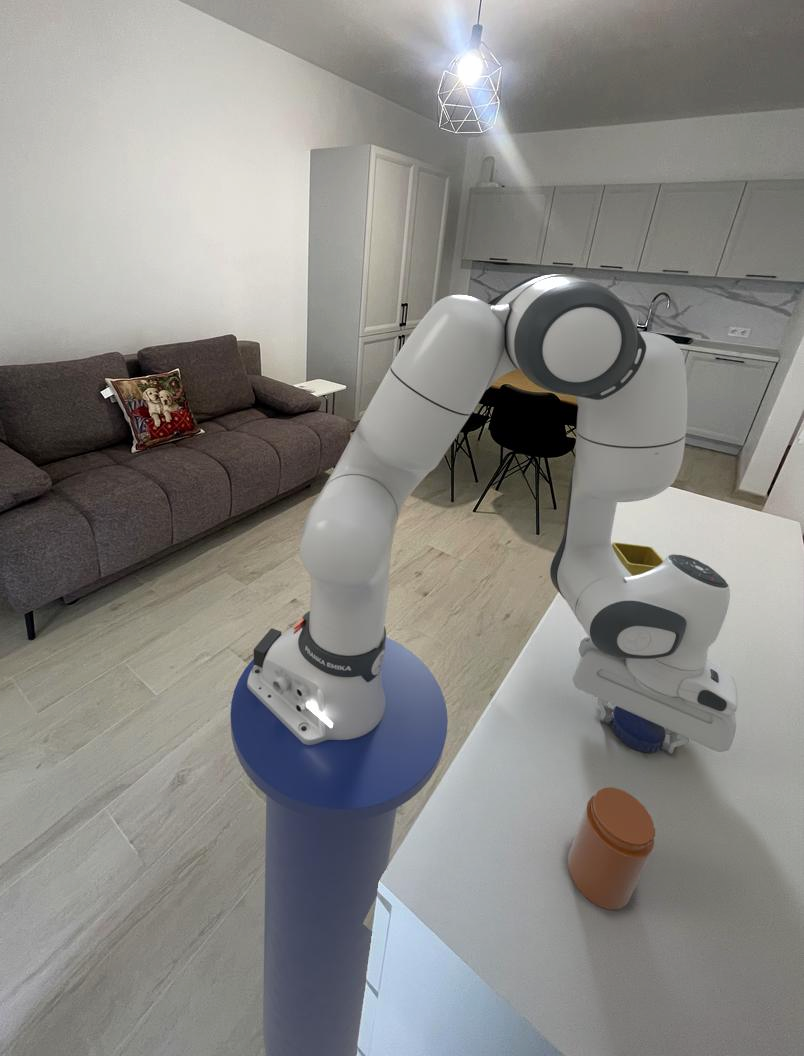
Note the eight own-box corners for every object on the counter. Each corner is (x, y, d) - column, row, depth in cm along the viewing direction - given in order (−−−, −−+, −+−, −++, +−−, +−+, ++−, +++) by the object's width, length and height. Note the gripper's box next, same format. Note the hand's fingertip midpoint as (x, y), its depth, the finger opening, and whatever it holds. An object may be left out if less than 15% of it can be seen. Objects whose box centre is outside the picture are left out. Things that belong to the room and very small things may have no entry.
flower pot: (640, 579, 113) (652, 546, 110) (658, 604, 105) (671, 568, 102) (601, 575, 114) (611, 541, 110) (616, 599, 106) (627, 563, 102)
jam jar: (562, 883, 55) (585, 822, 52) (573, 831, 61) (594, 772, 57) (627, 925, 52) (657, 862, 48) (632, 866, 57) (659, 806, 54)
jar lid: (661, 762, 70) (664, 753, 69) (606, 735, 73) (609, 726, 73) (663, 727, 76) (667, 718, 75) (613, 703, 79) (616, 695, 78)
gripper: (580, 643, 72) (559, 713, 77) (752, 714, 62) (715, 789, 67) (587, 620, 77) (566, 687, 82) (747, 682, 67) (713, 753, 72)
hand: (635, 733), depth 75 cm, fingers closed on jar lid, 7 cm apart
